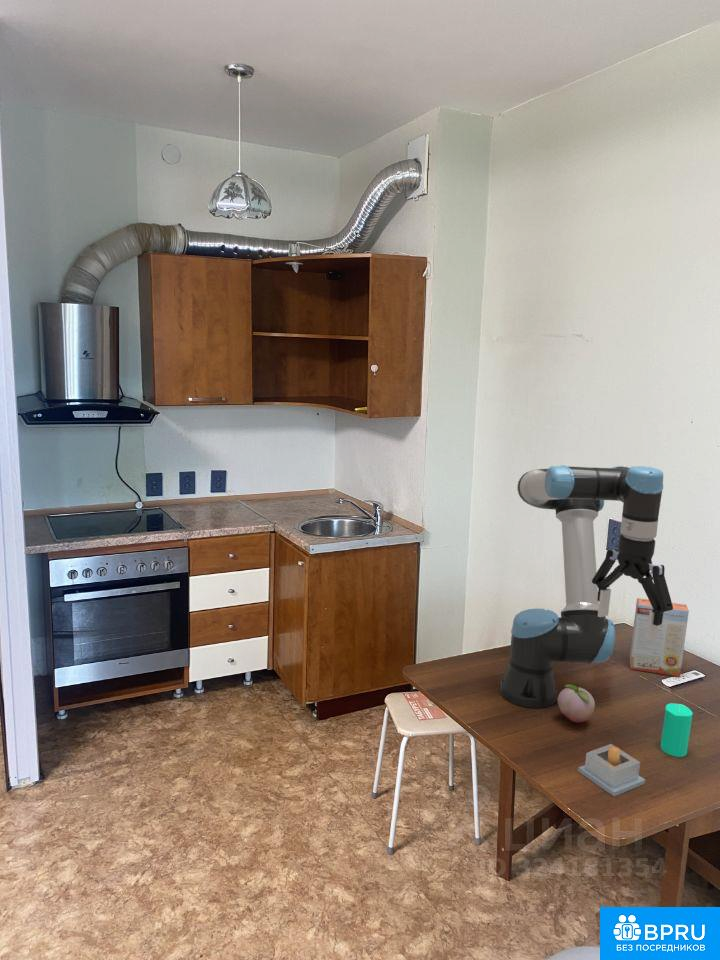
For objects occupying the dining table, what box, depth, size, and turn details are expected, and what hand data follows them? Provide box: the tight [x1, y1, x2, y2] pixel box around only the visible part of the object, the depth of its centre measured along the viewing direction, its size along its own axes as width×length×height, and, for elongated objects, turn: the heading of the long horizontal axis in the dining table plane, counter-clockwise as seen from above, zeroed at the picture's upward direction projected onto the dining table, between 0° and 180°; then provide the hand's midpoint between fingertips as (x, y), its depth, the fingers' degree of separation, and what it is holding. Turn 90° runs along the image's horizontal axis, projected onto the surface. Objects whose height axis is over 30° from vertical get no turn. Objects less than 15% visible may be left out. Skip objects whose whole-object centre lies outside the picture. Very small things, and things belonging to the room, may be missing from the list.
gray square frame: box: [584, 743, 641, 789], centre depth 158 cm, size 8×8×4 cm
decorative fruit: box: [556, 684, 596, 723], centre depth 181 cm, size 9×8×10 cm
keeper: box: [577, 745, 646, 797], centre depth 158 cm, size 10×10×7 cm
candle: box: [660, 702, 694, 758], centre depth 170 cm, size 6×6×12 cm
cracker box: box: [629, 598, 690, 677], centre depth 212 cm, size 14×6×21 cm, turn 72°
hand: (626, 626), depth 162 cm, fingers open, 13 cm apart
